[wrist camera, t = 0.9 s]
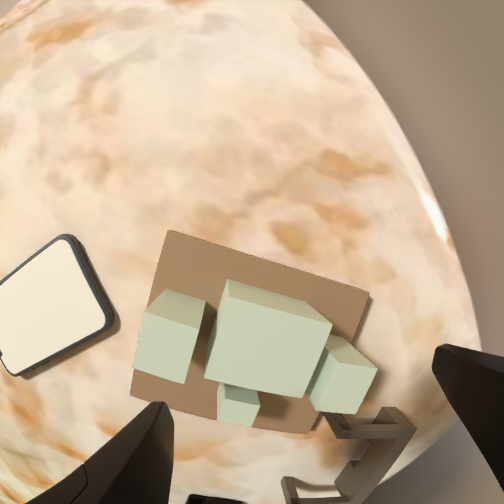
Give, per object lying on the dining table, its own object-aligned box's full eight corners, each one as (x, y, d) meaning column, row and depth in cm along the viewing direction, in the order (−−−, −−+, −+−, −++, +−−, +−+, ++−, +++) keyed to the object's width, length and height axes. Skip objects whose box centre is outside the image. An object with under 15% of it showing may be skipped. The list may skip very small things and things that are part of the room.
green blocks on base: (303, 425, 23) (327, 477, 16) (134, 386, 22) (108, 438, 14) (361, 289, 23) (413, 311, 15) (171, 229, 21) (145, 230, 14)
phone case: (76, 226, 21) (-18, 301, 20) (67, 226, 19) (-27, 304, 18) (123, 321, 22) (19, 375, 21) (117, 326, 20) (11, 380, 19)
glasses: (395, 407, 25) (416, 428, 20) (347, 481, 25) (360, 504, 21) (325, 402, 23) (342, 429, 19) (280, 481, 24) (288, 509, 20)
